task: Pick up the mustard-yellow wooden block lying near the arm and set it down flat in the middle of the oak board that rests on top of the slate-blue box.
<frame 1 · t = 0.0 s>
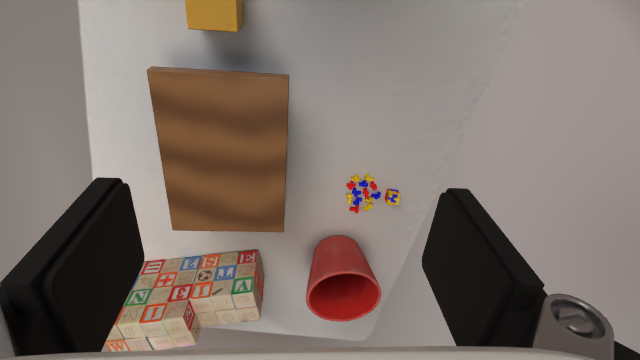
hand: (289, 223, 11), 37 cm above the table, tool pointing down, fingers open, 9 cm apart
flower pot: (336, 252, 61), on the table
stack of blocks: (198, 268, 61), on the table
wooden board: (225, 159, 42), on the blue box, point 7 cm above the table
building blocks: (370, 192, 55), on the table
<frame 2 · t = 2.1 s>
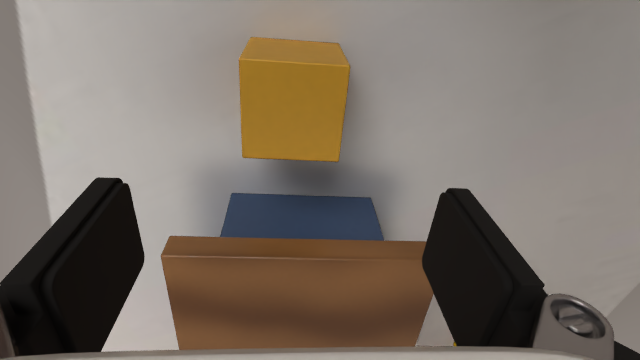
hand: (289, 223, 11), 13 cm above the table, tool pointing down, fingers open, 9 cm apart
blue box: (297, 274, 30), on the table
mustard block: (293, 83, 22), on the table
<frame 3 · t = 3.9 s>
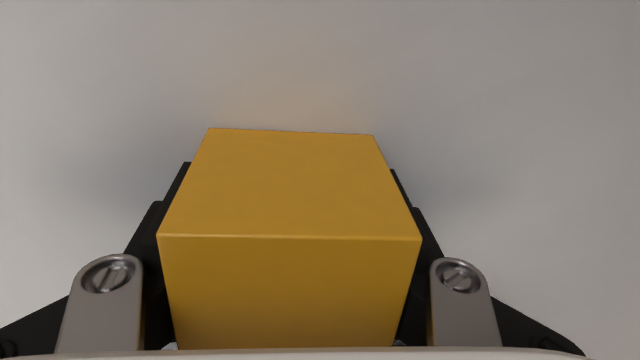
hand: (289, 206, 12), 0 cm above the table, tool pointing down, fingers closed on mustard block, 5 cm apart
mustard block: (289, 199, 12), on the table, touching gripper
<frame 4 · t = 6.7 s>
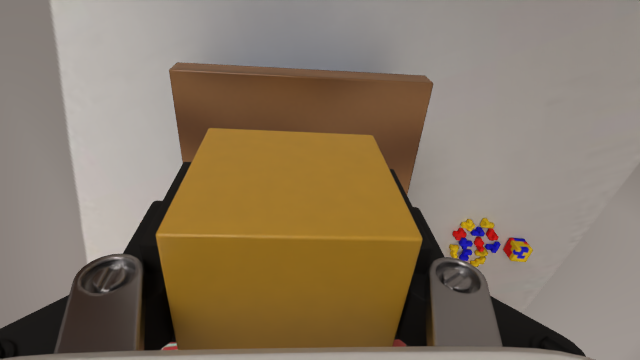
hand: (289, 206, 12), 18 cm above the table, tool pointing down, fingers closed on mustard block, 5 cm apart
mustard block: (289, 199, 12), point 17 cm above the table, touching gripper
wooden board: (298, 218, 25), on the blue box, point 7 cm above the table
building blocks: (484, 242, 38), on the table
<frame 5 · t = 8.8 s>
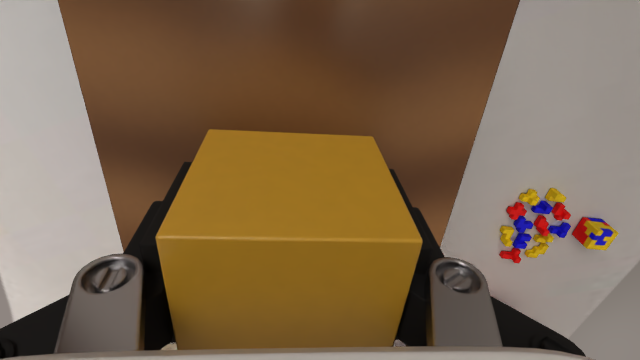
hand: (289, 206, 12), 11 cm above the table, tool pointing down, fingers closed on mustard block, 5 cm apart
mustard block: (289, 200, 12), point 11 cm above the table, touching gripper
wooden board: (290, 158, 15), on the blue box, point 7 cm above the table
building blocks: (546, 224, 28), on the table
when the fingers open (9 cm above the table, at t = 9.8 s): mustard block stays where it is, resting on wooden board.
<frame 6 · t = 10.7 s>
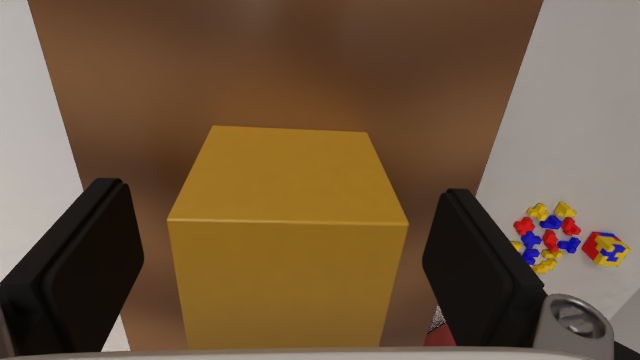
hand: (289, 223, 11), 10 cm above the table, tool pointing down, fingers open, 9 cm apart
flower pot: (460, 342, 32), on the table
mustard block: (288, 193, 13), point 8 cm above the table, touching wooden board
wooden board: (289, 180, 14), on the blue box, point 7 cm above the table
building blocks: (555, 239, 27), on the table
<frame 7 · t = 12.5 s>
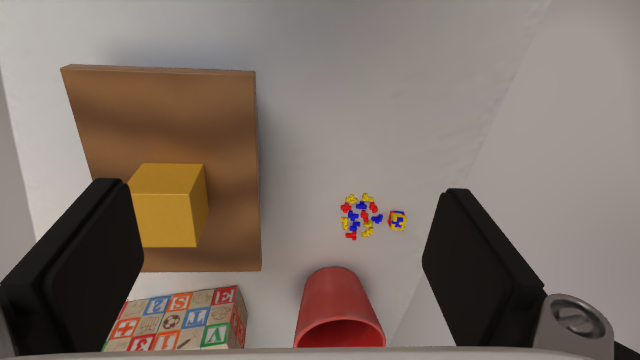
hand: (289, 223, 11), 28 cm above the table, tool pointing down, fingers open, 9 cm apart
flower pot: (332, 285, 51), on the table
stack of blocks: (169, 309, 51), on the table
mustard block: (177, 188, 32), point 8 cm above the table, touching wooden board
wooden board: (179, 183, 32), on the blue box, point 7 cm above the table
building blocks: (370, 215, 45), on the table
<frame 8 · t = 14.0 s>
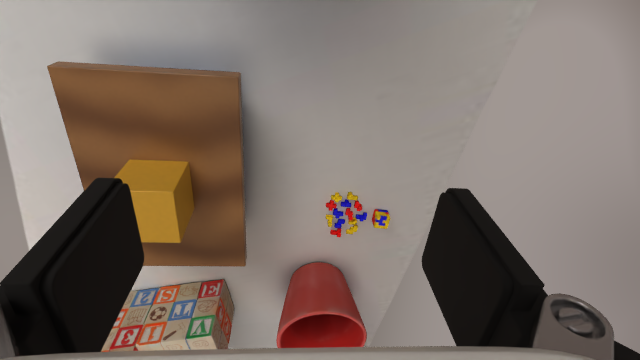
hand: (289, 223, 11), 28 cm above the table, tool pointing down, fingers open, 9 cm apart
flower pot: (317, 280, 52), on the table
stack of blocks: (156, 301, 52), on the table
mustard block: (163, 184, 33), point 8 cm above the table, touching wooden board
wooden board: (165, 179, 33), on the blue box, point 7 cm above the table
building blocks: (355, 213, 47), on the table
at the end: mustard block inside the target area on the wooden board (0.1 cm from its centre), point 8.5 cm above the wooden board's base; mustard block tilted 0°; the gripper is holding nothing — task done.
